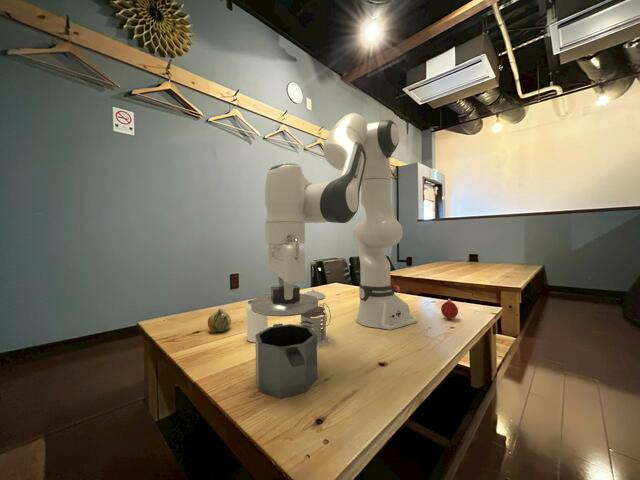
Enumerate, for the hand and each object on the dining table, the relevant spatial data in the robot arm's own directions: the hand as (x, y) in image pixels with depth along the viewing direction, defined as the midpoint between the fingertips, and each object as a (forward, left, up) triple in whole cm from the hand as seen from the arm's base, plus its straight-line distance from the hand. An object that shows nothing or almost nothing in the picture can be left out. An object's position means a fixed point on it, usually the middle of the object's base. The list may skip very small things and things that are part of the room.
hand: (285, 296), depth 57 cm
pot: (0, 0, -19) cm, 19 cm away
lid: (0, 0, -2) cm, 2 cm away
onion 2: (-67, -16, -19) cm, 72 cm away
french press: (-13, -17, -19) cm, 29 cm away
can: (+4, -25, -19) cm, 32 cm away
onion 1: (+15, -37, -19) cm, 44 cm away
